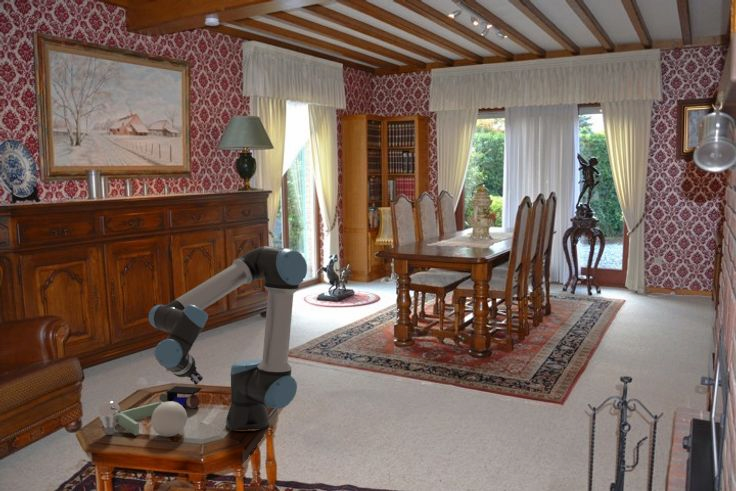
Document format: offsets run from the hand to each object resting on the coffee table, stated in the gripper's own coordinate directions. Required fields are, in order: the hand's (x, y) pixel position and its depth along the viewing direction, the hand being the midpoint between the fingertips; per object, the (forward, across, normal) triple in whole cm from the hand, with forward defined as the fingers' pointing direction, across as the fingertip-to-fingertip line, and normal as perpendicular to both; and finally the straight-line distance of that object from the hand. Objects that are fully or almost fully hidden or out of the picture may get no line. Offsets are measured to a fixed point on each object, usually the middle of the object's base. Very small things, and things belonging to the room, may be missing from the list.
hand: (198, 378), depth 212 cm
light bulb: (+7, -8, -34) cm, 36 cm away
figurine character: (+31, -6, -13) cm, 34 cm away
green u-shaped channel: (+16, -4, -23) cm, 29 cm away
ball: (+5, +2, -16) cm, 17 cm away
